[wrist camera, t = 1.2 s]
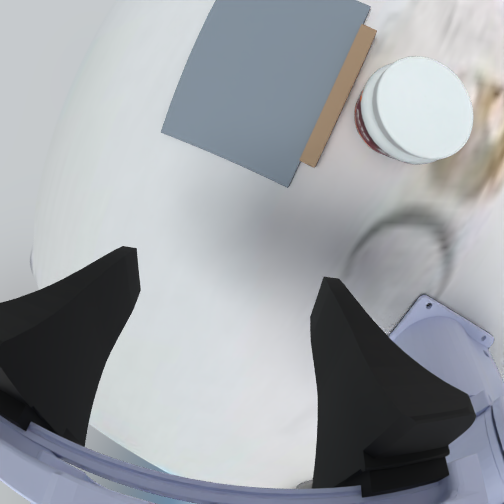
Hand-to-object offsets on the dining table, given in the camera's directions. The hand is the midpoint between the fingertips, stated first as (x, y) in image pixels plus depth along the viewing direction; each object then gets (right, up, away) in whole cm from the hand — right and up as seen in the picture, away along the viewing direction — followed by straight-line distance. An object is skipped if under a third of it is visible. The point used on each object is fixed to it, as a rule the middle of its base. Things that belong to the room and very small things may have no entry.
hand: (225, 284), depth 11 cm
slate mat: (+2, +13, +5) cm, 15 cm away
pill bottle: (+10, +9, +5) cm, 14 cm away
